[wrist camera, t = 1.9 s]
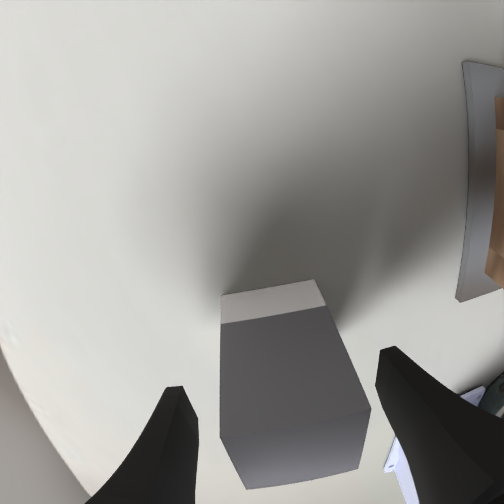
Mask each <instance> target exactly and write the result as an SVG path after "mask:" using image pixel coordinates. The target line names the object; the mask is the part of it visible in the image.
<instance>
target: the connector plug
mask: <svg viewBox="0 0 504 504" xmlns="http://www.w3.org/2000/svg"><path fill="white" fill-rule="evenodd" d="M370 413H371V406H370V404H369V402H368V399H367V397H366V394H365V392H364V390H363V387H362V385H361V383H360V380H359V378H358V375H357V373H356V371H355V369H354V366H353V364H352V362H351V359H350V357H349V355H348V352H347V350H346V348H345V346H344V343H343V341H342V339H341V337H340V334H339V332H338V330H337V328H336V326H335V323H334V321H333V319H332V317H331V314H330V312H329V310H328V308H327V306H326V304H325V301H324V299H323V297H322V295H321V293H320V291H319V288H318V286H317V284H316V282H315V280H314V279H312V280H307V281H302V282H296V283H291V284H285V285H280V286H274V287H269V288H263V289H257V290H251V291H245V292H239V293H233V294H227V295H221V333H220V438H221V441H222V443H223V445H224V447H225V449H226V451H227V453H228V455H229V457H230V459H231V461H232V463H233V465H234V467H235V469H236V471H237V473H238V475H239V477H240V479H241V481H242V482H243V484H244V486H245V488H246V490H248V489H257V488H265V487H273V486H280V485H286V484H292V483H298V482H303V481H309V480H314V479H318V478H323V477H328V476H332V475H336V474H340V473H344V472H348V471H352V470H356V469H358V467H359V463H360V459H361V455H362V451H363V446H364V442H365V437H366V433H367V428H368V423H369V418H370Z"/></svg>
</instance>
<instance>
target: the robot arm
mask: <svg viewBox="0 0 504 504" xmlns="http://www.w3.org/2000/svg"><path fill="white" fill-rule="evenodd" d="M375 387H376V390H377V393H378V396H379V399H380V402H381V405H382V408H383V410H384V412H385V414H386V416H387V418H388V420H389V422H390V425H391V427H392V429H393V431H394V433H395V435H396V437H395V440H394V443H393V446H392V448H391V451H390V454H389V456H388V459H387V462H386V464H385V467H384V469H383V470H384V472H385V473H388V472H391V471H395V474H396V476H397V479H398V482H399V484H400V487H401V490H402V493H403V495H404V498H405V501H406V504H504V419H503V418H500V417H498V416H496V415H494V414H491V413H489V412H487V411H485V410H483V409H481V408H479V407H477V406H478V404H479V402H480V400H481V398H482V396H483V394H484V392H485V388H484V386H480V387H478V388H476V389H474V390H472V391H470V392H468V393H466V394H463V395H461V396H458V395H457V394H455V393H454V392H453V391H451V390H450V389H448V388H447V387H445V386H444V385H443V384H441V383H440V382H439V381H437V380H436V379H435V378H434V377H432V376H431V375H430V374H428V373H427V372H426V371H425V370H423V369H422V368H421V367H420V366H419V365H417V364H416V363H415V362H414V361H413V360H411V359H410V358H409V357H408V356H407V355H406V354H404V353H403V352H402V351H401V350H400V349H399V348H397V347H396V346H392V347H389V348H385V349H382V350H380V355H379V363H378V370H377V376H376V383H375ZM198 448H199V430H198V417H197V415H196V413H195V411H194V409H193V407H192V405H191V403H190V401H189V399H188V397H187V395H186V392H185V390H184V388H183V386H176V387H167V388H166V389H165V390H164V392H163V394H162V396H161V398H160V400H159V402H158V404H157V406H156V408H155V410H154V412H153V414H152V416H151V417H150V419H149V421H148V423H147V425H146V426H145V428H144V430H143V432H142V433H141V435H140V437H139V438H138V440H137V441H136V443H135V445H134V446H133V448H132V449H131V451H130V452H129V454H128V455H127V457H126V458H125V460H124V461H123V462H122V464H121V465H120V466H119V468H118V469H117V470H116V471H115V473H114V474H113V475H112V476H111V477H110V478H109V480H108V481H107V482H106V483H105V484H104V485H103V486H102V487H101V488H100V489H99V491H98V492H97V493H96V494H94V495H93V496H92V497H91V498H90V499H89V500H88V501H87V502H86V503H85V504H195V486H196V473H197V461H198Z"/></svg>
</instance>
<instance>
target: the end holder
mask: <svg viewBox="0 0 504 504" xmlns="http://www.w3.org/2000/svg"><path fill="white" fill-rule="evenodd" d="M462 66H463V73H464V81H465V90H466V100H467V113H468V131H469V187H468V205H467V219H466V229H465V239H464V247H463V255H462V262H461V268H460V275H459V280H458V286H457V291H456V297H455V298H456V299H457V300H458V301H459V302H460V303H461V302H464V301H467V300H470V299H473V298H476V297H479V296H482V295H484V294H487V293H490V292H493V291H496V290H498V289H501V288H503V289H504V69H503V68H499V67H494V66H489V65H485V64H479V63H474V62H462Z"/></svg>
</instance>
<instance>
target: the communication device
mask: <svg viewBox="0 0 504 504" xmlns="http://www.w3.org/2000/svg"><path fill="white" fill-rule="evenodd" d="M477 407H479V408H481V409H483V410H485V411H487V412H489V413H491V414H494V415H496V416H498V417H500V418H503V419H504V373H503V374H501V375H500V376H499V377H498V378H497V379H496V380H495V381H494V382H493V383H492V384H491V385H490V386H489V387H488V388H487V389H486V390H485V392H484V394H483V396H482V398H481V400H480V402H479V404H478V406H477Z"/></svg>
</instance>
